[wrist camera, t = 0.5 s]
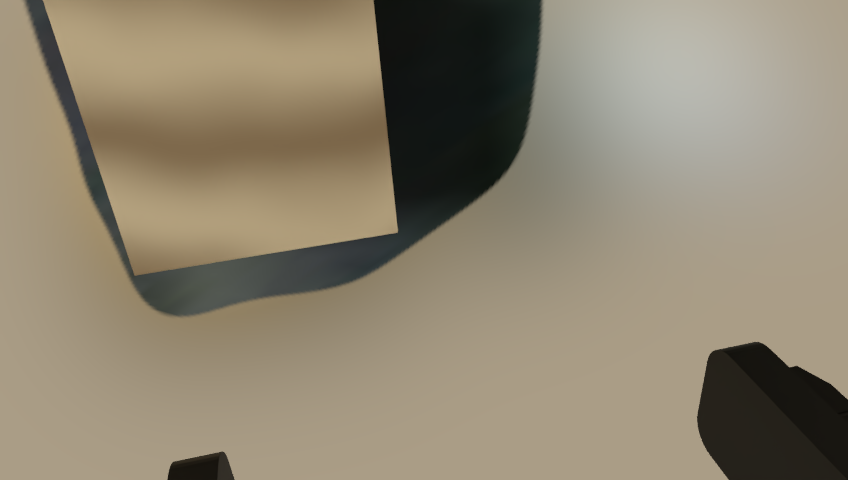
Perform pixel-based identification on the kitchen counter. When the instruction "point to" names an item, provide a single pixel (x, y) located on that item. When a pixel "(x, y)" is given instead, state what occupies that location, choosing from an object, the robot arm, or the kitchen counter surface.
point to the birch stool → (231, 123)
